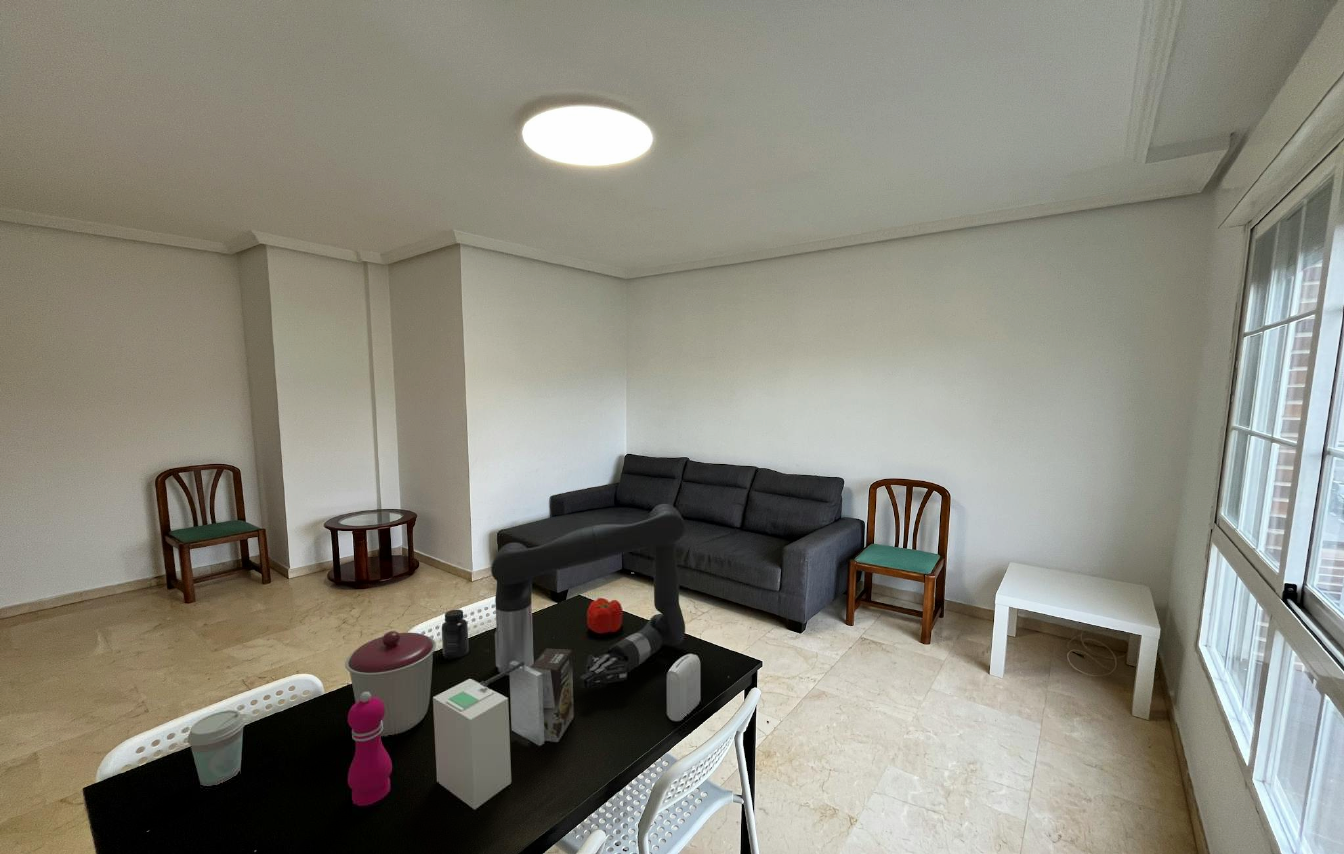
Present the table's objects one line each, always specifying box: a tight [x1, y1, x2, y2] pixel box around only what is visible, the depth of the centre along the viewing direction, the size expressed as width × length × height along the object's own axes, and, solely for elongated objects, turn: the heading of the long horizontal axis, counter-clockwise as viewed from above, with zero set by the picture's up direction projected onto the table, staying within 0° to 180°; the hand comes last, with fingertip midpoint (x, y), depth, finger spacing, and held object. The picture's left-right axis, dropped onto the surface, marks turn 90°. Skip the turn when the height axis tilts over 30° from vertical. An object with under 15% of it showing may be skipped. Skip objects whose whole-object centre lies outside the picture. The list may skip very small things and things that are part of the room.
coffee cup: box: [187, 709, 246, 786], centre depth 106 cm, size 8×8×12 cm
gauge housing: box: [432, 678, 512, 810], centre depth 104 cm, size 12×8×17 cm, turn 54°
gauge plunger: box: [479, 661, 545, 747], centre depth 111 cm, size 9×11×16 cm
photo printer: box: [666, 653, 701, 722], centre depth 127 cm, size 10×4×12 cm, turn 147°
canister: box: [344, 630, 437, 737], centre depth 123 cm, size 18×18×21 cm
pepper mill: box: [347, 692, 393, 807], centre depth 101 cm, size 7×7×20 cm
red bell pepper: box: [586, 597, 624, 634], centre depth 168 cm, size 11×12×9 cm
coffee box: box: [530, 648, 575, 743], centre depth 121 cm, size 9×6×16 cm
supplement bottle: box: [441, 608, 470, 660], centre depth 154 cm, size 7×7×12 cm
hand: (581, 683), depth 128 cm, fingers closed
